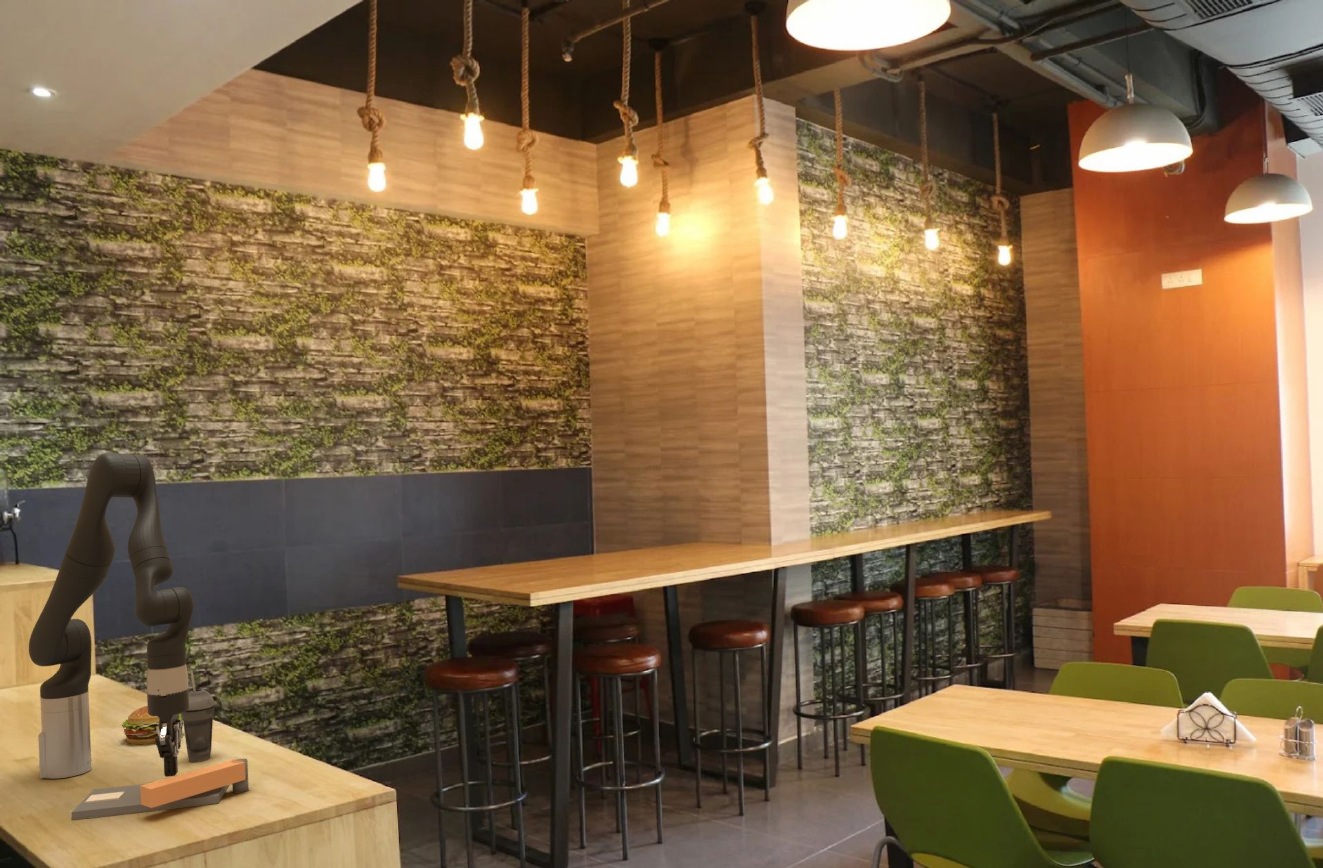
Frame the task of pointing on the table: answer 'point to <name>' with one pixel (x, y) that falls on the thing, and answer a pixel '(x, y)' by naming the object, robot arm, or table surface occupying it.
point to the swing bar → (193, 782)
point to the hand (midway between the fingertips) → (171, 775)
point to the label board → (130, 801)
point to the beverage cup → (198, 724)
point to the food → (141, 727)
